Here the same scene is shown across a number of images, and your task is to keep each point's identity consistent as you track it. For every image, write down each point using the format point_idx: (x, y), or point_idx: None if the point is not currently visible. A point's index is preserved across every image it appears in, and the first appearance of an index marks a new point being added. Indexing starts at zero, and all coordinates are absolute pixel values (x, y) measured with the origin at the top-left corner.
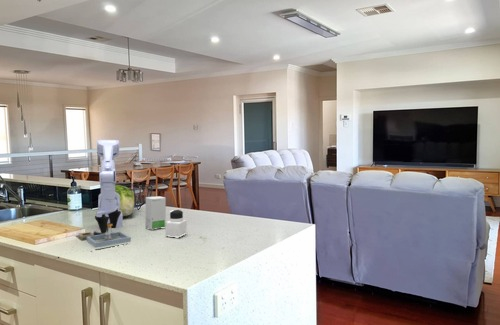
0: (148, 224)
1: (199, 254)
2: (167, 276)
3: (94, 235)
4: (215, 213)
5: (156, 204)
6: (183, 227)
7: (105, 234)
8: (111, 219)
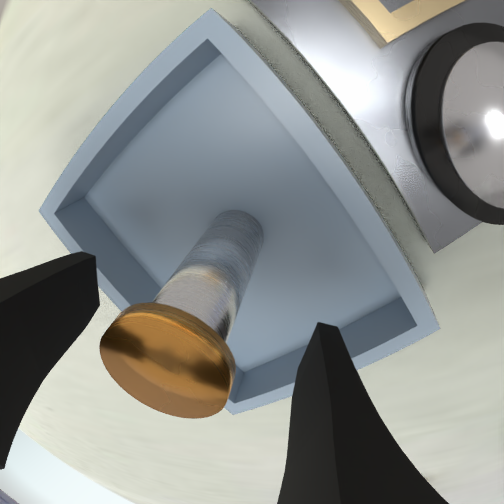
0: None
1: (161, 493)
2: None
3: (431, 43)
4: None
5: None
6: None
7: (184, 258)
8: (315, 443)
